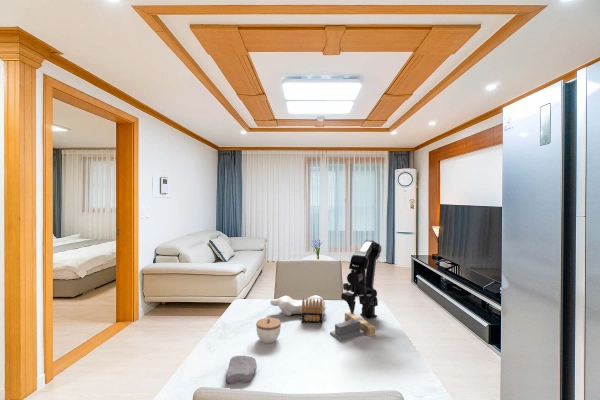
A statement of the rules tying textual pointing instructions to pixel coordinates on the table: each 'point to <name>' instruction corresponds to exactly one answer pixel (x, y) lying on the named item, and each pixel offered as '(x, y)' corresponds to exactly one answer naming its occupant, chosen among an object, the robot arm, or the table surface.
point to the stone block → (240, 369)
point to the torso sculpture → (294, 304)
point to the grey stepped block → (347, 330)
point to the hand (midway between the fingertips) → (359, 312)
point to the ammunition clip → (312, 312)
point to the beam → (362, 324)
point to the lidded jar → (268, 329)
